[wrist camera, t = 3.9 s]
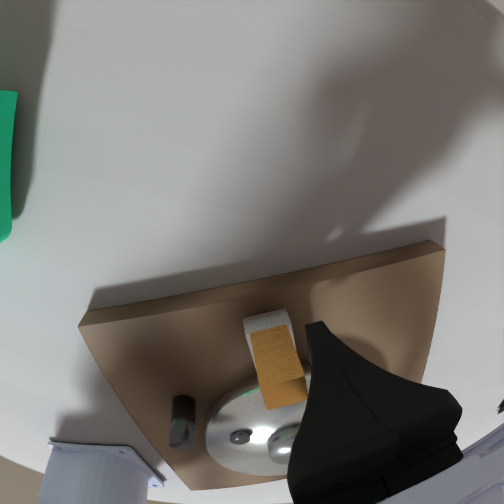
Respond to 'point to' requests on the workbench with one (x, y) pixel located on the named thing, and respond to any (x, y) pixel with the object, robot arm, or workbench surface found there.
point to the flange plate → (262, 402)
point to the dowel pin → (183, 423)
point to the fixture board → (237, 349)
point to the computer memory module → (501, 407)
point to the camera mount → (6, 159)
